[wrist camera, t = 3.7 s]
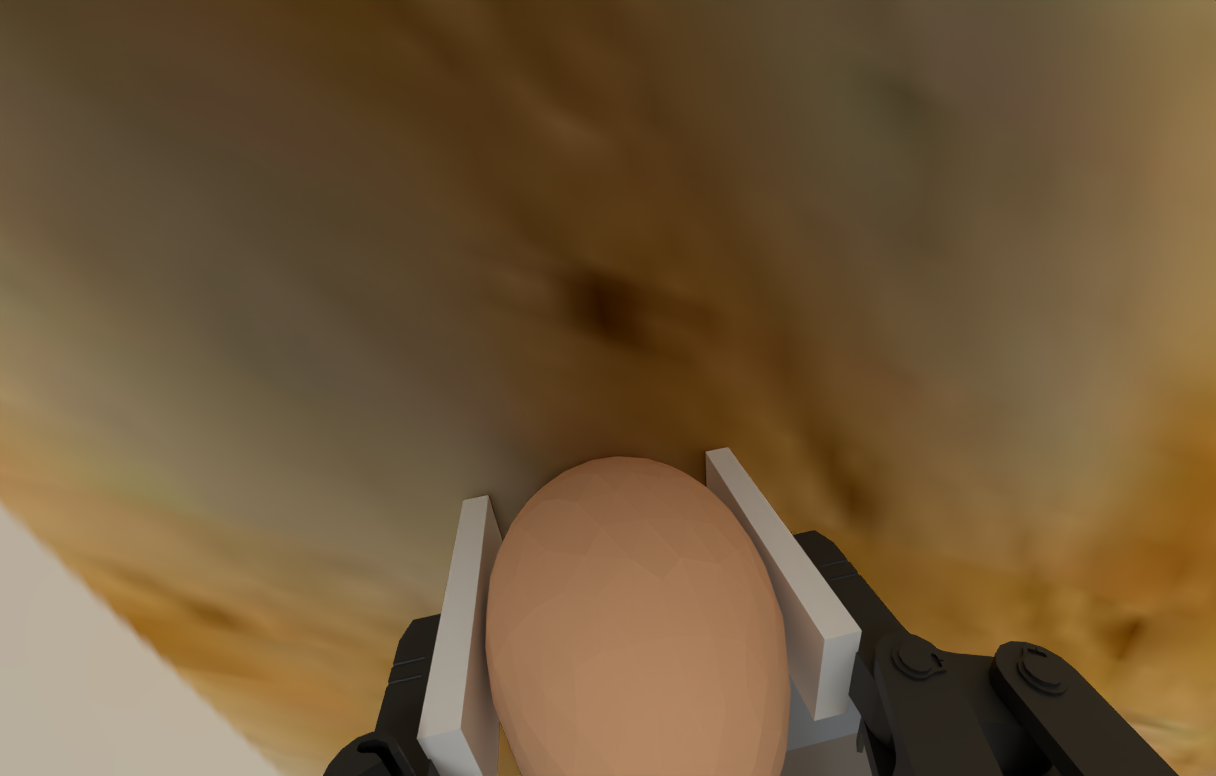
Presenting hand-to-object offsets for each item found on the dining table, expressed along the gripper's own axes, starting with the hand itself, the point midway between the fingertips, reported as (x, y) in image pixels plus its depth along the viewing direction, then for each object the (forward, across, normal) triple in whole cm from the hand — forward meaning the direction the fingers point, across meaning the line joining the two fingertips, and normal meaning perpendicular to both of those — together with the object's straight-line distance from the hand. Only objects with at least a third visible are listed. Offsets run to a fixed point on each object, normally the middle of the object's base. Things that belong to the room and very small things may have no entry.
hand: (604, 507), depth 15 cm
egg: (0, 0, 0) cm, 0 cm away
